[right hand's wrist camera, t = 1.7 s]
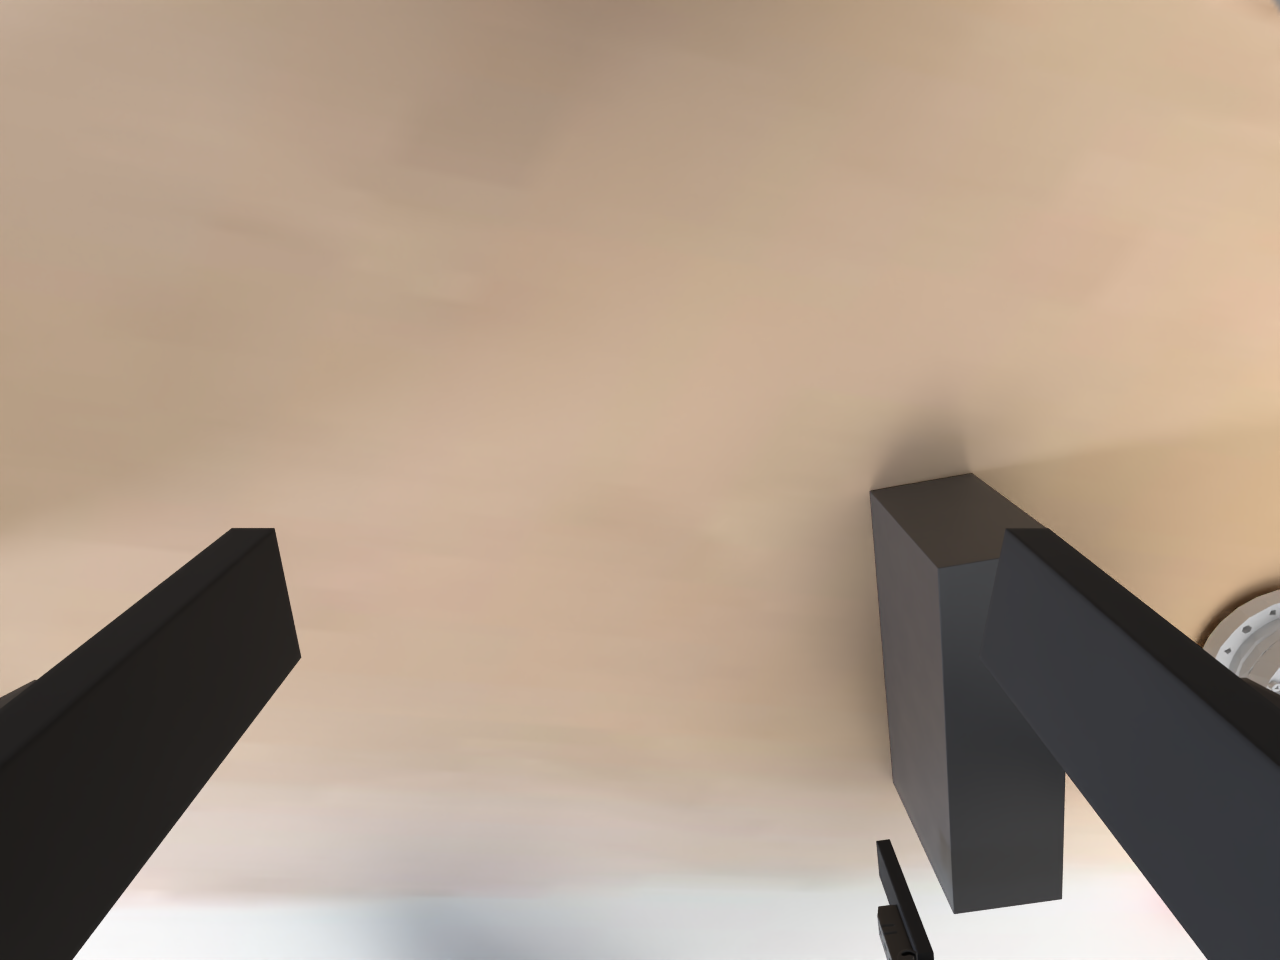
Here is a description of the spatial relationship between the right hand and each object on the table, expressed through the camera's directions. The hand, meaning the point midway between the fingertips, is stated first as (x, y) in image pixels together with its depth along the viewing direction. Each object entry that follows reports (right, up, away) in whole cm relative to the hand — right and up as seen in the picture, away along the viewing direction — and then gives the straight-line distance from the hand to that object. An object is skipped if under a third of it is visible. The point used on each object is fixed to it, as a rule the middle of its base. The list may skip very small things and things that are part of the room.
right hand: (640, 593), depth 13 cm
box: (+19, -8, +33) cm, 39 cm away
